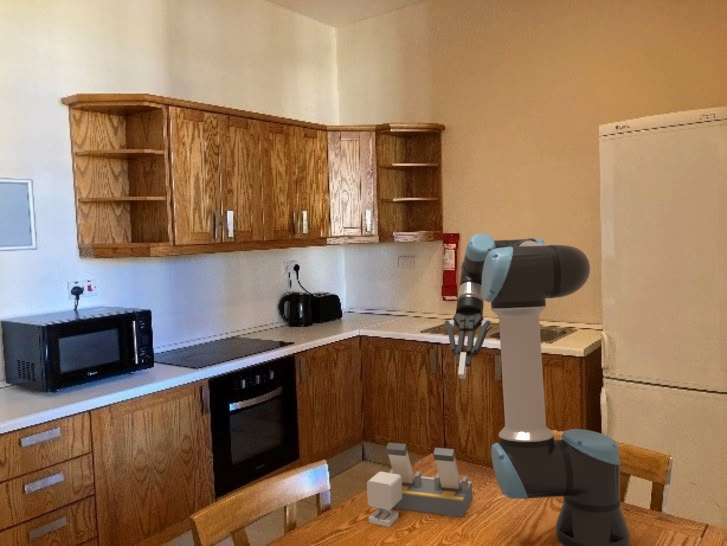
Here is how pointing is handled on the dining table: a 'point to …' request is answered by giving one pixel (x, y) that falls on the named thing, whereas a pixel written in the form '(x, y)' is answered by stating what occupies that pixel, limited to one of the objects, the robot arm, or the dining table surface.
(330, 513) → the dining table surface
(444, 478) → the lever
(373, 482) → the security camera
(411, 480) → the lever
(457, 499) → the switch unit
